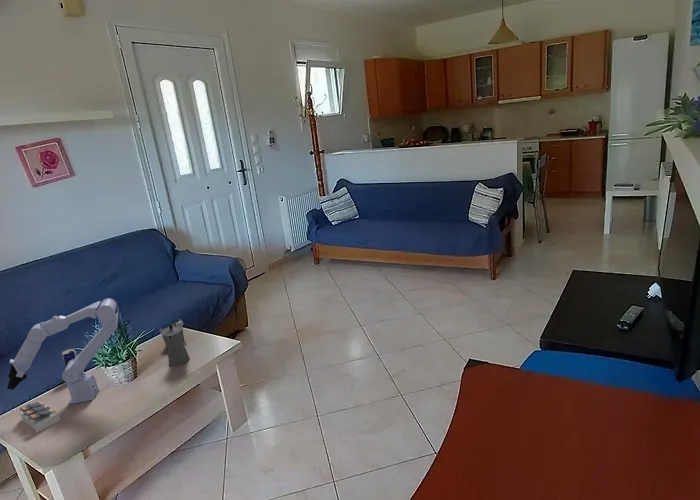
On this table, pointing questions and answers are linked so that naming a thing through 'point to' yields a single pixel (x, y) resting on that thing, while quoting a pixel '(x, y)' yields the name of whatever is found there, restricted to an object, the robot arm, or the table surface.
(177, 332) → the coffeepot
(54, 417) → the switch unit
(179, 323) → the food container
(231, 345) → the table surface
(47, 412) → the rocker
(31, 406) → the rocker
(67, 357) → the energy drink
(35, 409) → the rocker
